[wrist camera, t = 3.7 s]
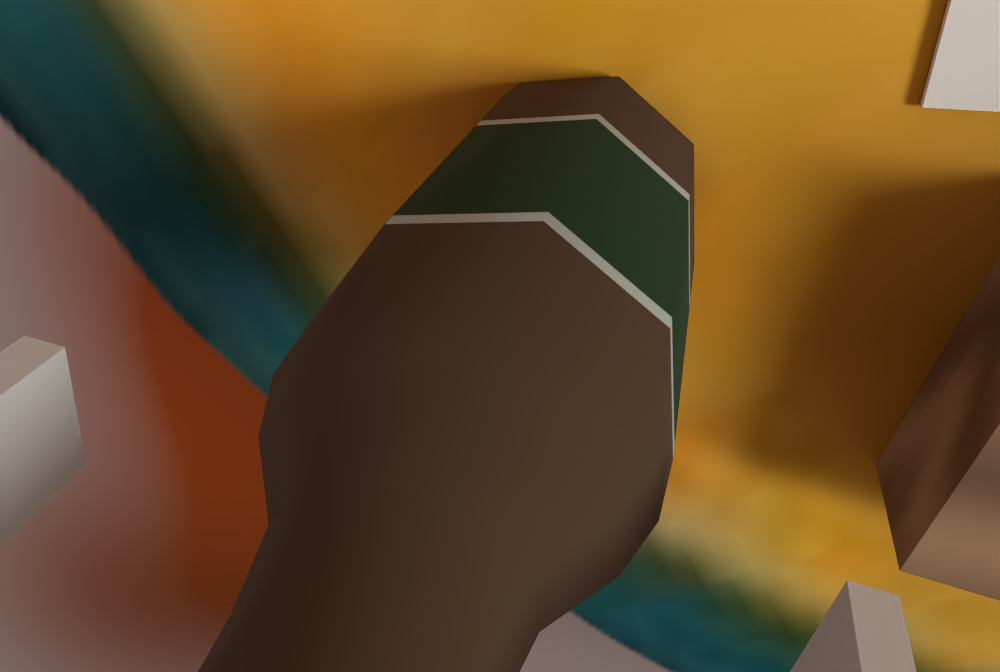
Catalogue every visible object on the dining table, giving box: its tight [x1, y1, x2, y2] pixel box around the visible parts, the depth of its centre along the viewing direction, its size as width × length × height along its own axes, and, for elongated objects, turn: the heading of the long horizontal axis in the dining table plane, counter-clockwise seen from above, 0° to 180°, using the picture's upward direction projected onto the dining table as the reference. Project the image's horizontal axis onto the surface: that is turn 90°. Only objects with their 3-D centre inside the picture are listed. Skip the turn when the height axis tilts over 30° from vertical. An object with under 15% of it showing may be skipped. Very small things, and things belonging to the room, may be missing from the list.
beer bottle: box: [198, 77, 694, 672], centre depth 15 cm, size 8×8×24 cm
